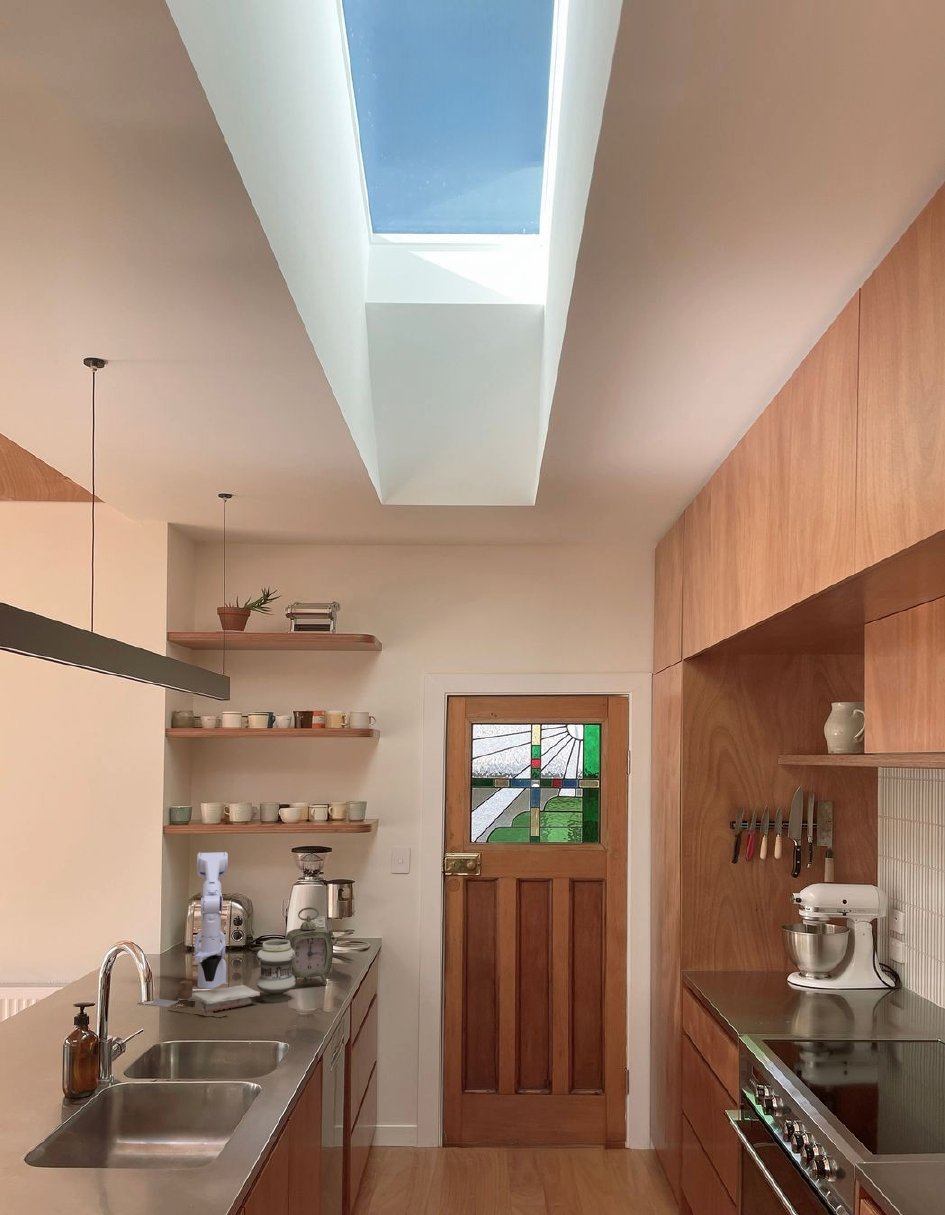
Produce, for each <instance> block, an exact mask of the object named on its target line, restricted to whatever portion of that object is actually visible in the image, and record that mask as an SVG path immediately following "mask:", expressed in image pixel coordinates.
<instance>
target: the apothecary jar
mask: <svg viewBox="0 0 945 1215" xmlns="http://www.w3.org/2000/svg"><path fill="white" fill-rule="evenodd" d="M256 957H257V960H258V961H259V962H260V976H258V978H257V980H256V986H257V988H258V990H259V991H261V992H262V993H263V992H264V993H267V994H266V995H264V996H262V997H261V998H260V999H259V1002H260V1003H263V1002H264V1003H263V1004H267V1003H269V1004H276V1003H277V1004H278V1003H284V1002H288V1000H289V1001H291V1000H292V997H291V996H289V995H287V994H285V993H286V992H289V991H291V990H292V989H294V988H293V987H294V985H296V982H297V979H295V977H294V976H293V975H292V964H291V963H292V960H293V959H294V958H295V951H294V949H293V948H291V946H290V941H289V940H285V938H284V939H280V938H277V939H268V940H266V941H263V943H262V946H261V949H260V950H258V951H257V956H256ZM290 999H291V1000H290Z"/></svg>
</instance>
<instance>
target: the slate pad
mask: <svg viewBox="0 0 945 1215" xmlns="http://www.w3.org/2000/svg"><path fill="white" fill-rule="evenodd" d="M153 998H154V1000H153V1003H151V1004H145V1005H144V1004H143V1002H142V1001H143V1000H140V1001H138V1002H137V1003H136V1004H137V1005H139V1006H142V1005H143V1006H152V1007H159V1008H160V1007H162V1008H163V1007H164V1008H169V1007H172V1006H174V1004H175V1005H177V1004H179V1003H180V1001H179V1000H170V999H162V998H155V997H153ZM178 1002H179V1003H178ZM176 1003H177V1004H176ZM171 1005H172V1006H171Z"/></svg>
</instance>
